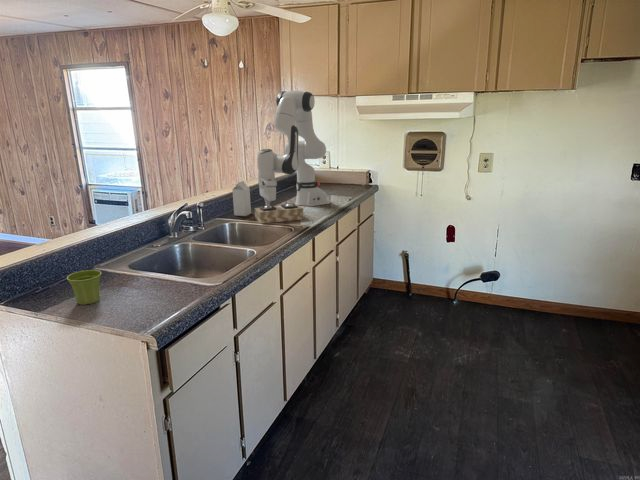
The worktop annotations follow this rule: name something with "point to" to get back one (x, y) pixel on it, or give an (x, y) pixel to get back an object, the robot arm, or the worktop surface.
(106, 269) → the worktop surface
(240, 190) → the milk carton
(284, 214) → the block
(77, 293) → the plant pot
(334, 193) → the worktop surface
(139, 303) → the worktop surface
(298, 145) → the robot arm
